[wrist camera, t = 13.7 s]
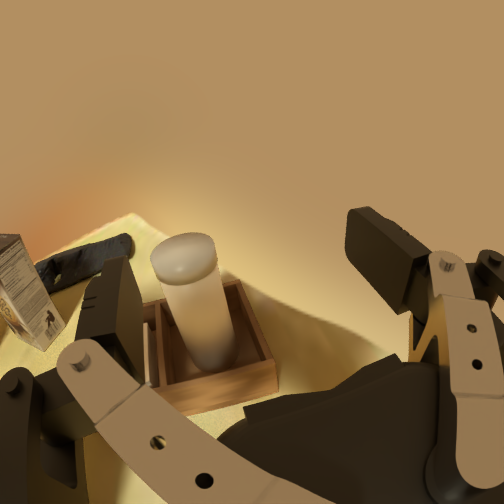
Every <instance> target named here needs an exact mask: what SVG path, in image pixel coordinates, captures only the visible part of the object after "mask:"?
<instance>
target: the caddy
mask: <svg viewBox="0 0 504 504" xmlns="http://www.w3.org/2000/svg"><path fill="white" fill-rule="evenodd" d="M222 285H223V289H224V293H225V297H226V301H227V305H228V310H229V314H230V318H231V322H232V326H233V329H234V333H235V337H236V341H237V345H238V349H239V354H238V358H237V360H236V361H235V363H234V364H233V365H232V366H231V367H229V368H228V369H226V370H224V371H221V372H217V373H207V372H204V371H201V370H199V369H198V368H197V367H196V366H195V365H194V363H193V361H192V359H191V357H190V354H189V352H188V350H187V348H186V345H185V343H184V341H183V339H182V336H181V334H180V332H179V329H178V327H177V324H176V322H175V320H174V317H173V315H172V312H171V310H170V307H169V305H168V302H167V300H166V298H165V299H160V300H156V301H152V302H148V303H144V304H143V335H144V365H145V383H146V385H148V386H149V387H150V388H151V389H153V390H154V391H155V392H156V393H157V394H158V395H160V396H161V397H162V398H163V399H164V400H165V401H167V402H168V403H169V404H170V405H171V406H173V407H174V408H175V409H176V410H178V411H179V412H180V413H181V414H183V415H184V416H189V415H194V414H198V413H203V412H207V411H211V410H216V409H220V408H224V407H227V406H231V405H235V404H239V403H242V402H246V401H250V400H253V399H256V398H260V397H263V396H266V395H270V394H273V393H276V392H279V391H278V382H277V373H276V364H275V361H274V359H273V356H272V354H271V352H270V350H269V347H268V345H267V343H266V340H265V338H264V336H263V333H262V331H261V329H260V327H259V324H258V322H257V320H256V317H255V315H254V313H253V310H252V308H251V306H250V303H249V301H248V299H247V296H246V294H245V291H244V289H243V287H242V284H241V282H240V280H235V281H231V282H227V283H224V284H222Z"/></svg>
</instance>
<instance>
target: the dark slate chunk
mask: <svg viewBox="0 0 504 504" xmlns="http://www.w3.org/2000/svg"><path fill="white" fill-rule="evenodd" d="M131 241H132V240H131V237H130V235H128V234H127V233H123V234H120V235H118V236H115V237H112V238H109V239H106V240H104V241H100V242H96V243H92V244H90V243H89V244H86V245H83V246H79V247H76V248H73V249H70V250H66V251H64V252H61V253H58V254H55V255H53V256H51V257H49V258H47V259H44V260H42V261H40V262H38V263H36V265H34V267H35V269H36V271H37V273H38V275H39V277H40V279H41V281H42V283H43V285H44V287H45V288H46V290H47V292H48V294H49V293H51V292H55V291H58V290H62V289H64V288H65V287H69V286H70V285H72V284H73V285H74V284H75V283H77V282H78V281H80V280H82V279H85V278H88V277H90V276H92V275H93V276H94V275H96V274H97V273H100V272H102V268H103V264H104V261H105V260H106V259H110V258H115V257H119V256H123V255H126V256H127V258H128V256H129V254H130V247H131ZM58 274H61V280H60V281H59V282H57V283H56V284H55V285H53V284H54V282H55V280H54V279H55V278H56V276H57V275H58Z"/></svg>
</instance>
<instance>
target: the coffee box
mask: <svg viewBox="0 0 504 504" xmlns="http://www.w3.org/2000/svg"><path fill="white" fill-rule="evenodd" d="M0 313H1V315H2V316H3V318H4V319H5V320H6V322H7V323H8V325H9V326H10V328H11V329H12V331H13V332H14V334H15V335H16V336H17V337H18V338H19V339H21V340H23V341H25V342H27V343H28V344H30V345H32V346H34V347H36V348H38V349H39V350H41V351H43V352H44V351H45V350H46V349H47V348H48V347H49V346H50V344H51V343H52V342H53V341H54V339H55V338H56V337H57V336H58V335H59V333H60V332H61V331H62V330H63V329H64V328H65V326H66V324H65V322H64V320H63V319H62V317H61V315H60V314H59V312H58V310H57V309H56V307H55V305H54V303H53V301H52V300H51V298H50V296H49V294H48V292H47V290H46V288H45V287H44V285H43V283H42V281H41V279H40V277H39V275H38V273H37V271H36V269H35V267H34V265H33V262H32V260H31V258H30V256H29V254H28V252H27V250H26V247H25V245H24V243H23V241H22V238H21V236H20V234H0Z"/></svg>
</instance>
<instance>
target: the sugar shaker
mask: <svg viewBox="0 0 504 504" xmlns="http://www.w3.org/2000/svg"><path fill="white" fill-rule="evenodd" d="M217 259H218V258H217V254H216V250H215V245H214V242H213V240H212V238H211V237H210V236H208V235H206V234H202V233H184V234H180V235H176V236H173V237H171V238H168V239H166V240H165V241H163V242H161V243H160V244H159V245H158V246H156V247H155V249H154V250H153V251H152V253H151V256H150V261H151V264H152V266H153V269H154V272H155V274H156V277H157V279H158V280H159V282H160V284H161V287H162V290H163V292H164V295H165V297H166V300H167V302H168V305H169V307H170V310H171V312H172V315H173V317H174V320H175V322H176V324H177V327H178V329H179V332H180V334H181V336H182V339H183V341H184V343H185V345H186V348H187V350H188V352H189V354H190V357H191V359H192V361H193V363H194V365H195V366H196V367H197V368H198V369H199V370H201V371H204V372H207V373H217V372H221V371H224V370H226V369H228V368H229V367H231V366H232V365H233V364H234V363H235V361H236V360H237V358H238V354H239V349H238V345H237V341H236V337H235V333H234V329H233V326H232V322H231V318H230V314H229V310H228V305H227V301H226V297H225V293H224V289H223V285H222V281H221V276H220V272H219V268H218V264H217V261H218V260H217Z"/></svg>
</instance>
